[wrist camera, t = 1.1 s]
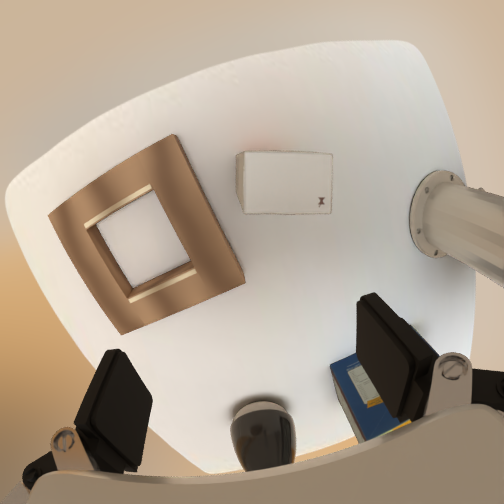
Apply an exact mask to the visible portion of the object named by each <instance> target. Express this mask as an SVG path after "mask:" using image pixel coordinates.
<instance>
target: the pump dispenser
mask: <svg viewBox="0 0 504 504" xmlns="http://www.w3.org/2000/svg"><path fill="white" fill-rule="evenodd" d="M230 433H231V439H232V443H233V447H234V450H235V453H236V455H237V458H238V460H239V462H240V464H241V466H242V467H243V469H244V470H245V472H249V471H256V470H262V469H268V468H274V467H279V466H284V465H288V464H293V463H294V460H295V454H296V432H295V425H294V421H293V418H292V417H291V416H290V415H289V414H288V413H287V412H286V410H285V409H284V408H282V407H281V406H279V405H278V404H275V403H272V402H266V401H261V402H254V403H251V404H248V405H246V406H245V407H243V408H242V409H241V410H240V411H239V412H238V413H237V414H236V416H235V418H234V420H233V423H232V424H231V427H230Z"/></svg>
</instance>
